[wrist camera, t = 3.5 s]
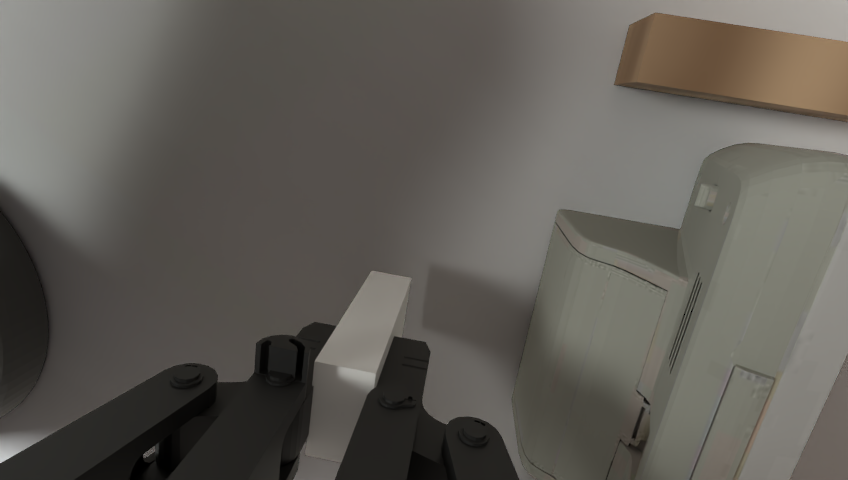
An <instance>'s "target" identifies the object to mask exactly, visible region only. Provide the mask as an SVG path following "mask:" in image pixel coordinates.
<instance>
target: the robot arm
mask: <svg viewBox="0 0 848 480" xmlns="http://www.w3.org/2000/svg"><path fill="white" fill-rule="evenodd" d="M411 279H412V278H409V277H404V276H398V275H393V274H388V273H382V272H377V271H371V273H370V274H369V276H368V277H367V279H366V280H365V282H364V284H363V285H362V287H361V288H360V290H359V292H358V293H357V295H356V296H355V298H354V300H353V301H352V303H351V304H350V306H349V307H348V309H347V311H346V312H345V314H344V315H343V317H342V319H341V320H340V322H339V323H338V325H337V326H333V325H327V324H322V323H317V322H314V323H312V324H310V325H308V326H306V327H304V328H303V329H302V330H301V331H300V333H299V334H298V335H297V336H296V337H295V336H289V335H275V336H270V337H267V338H263V339H262V340H260V341H259V342H257V343H256V355H255V370H254V374H253V375H252V376H251V377H250V379H249V380H248V381H246V382H217V380H218V375H217V373H216V371H215V370H214V369H212V368H211V367H209V366H206V365H202V364H195V363H193V364H192V363H189V364H182V365H177V366H174V367H171V368H169V369H167V370H164V371H163V372H161V373H159V374H157V375H156V376H154V377H152V378H150V379H148V380H147V381H145V382H143V383H141V384H140V385H138V386H136V387H134V388H133V389H131V390H129V391H127V392H126V393H124V394H122V395H120V396H118V397H117V398H115V399H113V400H111V401H110V402H108V403H106V404H104V405H103V406H101V407H99V408H97V409H96V410H94V411H92V412H90V413H88V414H87V415H85V416H83V417H81V418H80V419H78V420H76V421H74V422H73V423H71V424H69V425H67V426H66V427H64V428H62V429H60V430H58V431H57V432H55V433H53V434H51V435H50V436H48V437H46V438H44V439H43V440H41V441H39V442H37V443H36V444H34V445H32V446H30V447H28V448H27V449H25V450H23V451H21V452H20V453H18V454H16V455H14V456H13V457H11V458H9V459H7V460H6V461H4V462H2V463H0V480H293V478H294V476H295V474H296V472H297V470H298V465H299V457H300V451H301V449H302V447H303V445H304V443H305V441H306V448H305V456H310V457H315V458H320V459H324V460H329V461H334V462H339V463H341V465H340V468H339V470H338V473H337V476H336V478H335V480H519V478H518V475H517V473H516V471H515V468H514V466H513V463H512V461H511V458H510V456H509V454H508V451H507V449H506V446H505V444H504V441H503V439H502V436H501V435H500V434H499V432H498V431H497V429H496V428H494V427H493V426H492V425H491V424H489V423H488V422H485V421H483V420H481V419H478V418H473V417H458V418H455V419H453V420H451V421H450V422H449V423H448V424H447V425H446V424H443V423H441V422H439V421H437V420H436V419H434V418H433V417H431V416H430V415H429V414H428V413H427V412H426V411H425V409H424V407H423V405H422V396H423V391H424V385H425V380H426V374H427V369H428V363H429V358H430V350H429V348H428V346H427V344H426V342H422V341H417V340H411V339H406V338H402V335H403V329H404V323H405V316H406V310H407V304H408V298H409V291H410V285H411ZM47 344H48V318H47V310H46V304H45V299H44V295H43V291H42V288H41V284H40V281H39V278H38V276H37V273H36V271H35V268H34V266H33V263H32V261H31V259H30V257H29V255H28V253H27V251H26V249H25V247H24V246H23V244H22V242H21V240H20V239H19V237H18V236H17V234H16V232H15V231H14V229H13V228H12V226H11V225H10V224H9V222H8V221H7V220H6V218H5V217H4V216H3V214H2V213H1V212H0V418H1V417H2V416H4V415H5V414H7V413H8V412H10V411H11V410H12V409H14V408H15V407H16V406H17V405H19V404H20V403H21V402H22V401H23V400H24V398H25V397H26V396H27V395H28V394H29V392H30V391H31V389H32V388H33V387H34V385H35V383H36V381H37V379H38V377H39V375H40V373H41V370H42V367H43V364H44V361H45V356H46V351H47ZM153 446H155V452H154V453H153V454H151V455H150V456H148V457H146V458H143V454H144V453H145V452H146V451H148V450H149V449H151V448H152V447H153Z"/></svg>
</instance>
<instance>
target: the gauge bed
mask: <svg viewBox="0 0 848 480" xmlns="http://www.w3.org/2000/svg"><path fill="white" fill-rule="evenodd" d="M614 85H620V86H627V87H633V88H639V89H645V90H652V91H658V92H664V93H671V94H677V95H683V96H689V97H696V98H702V99H708V100H714V101H721V102H727V103H733V104H739V105H746V106H752V107H758V108H764V109H771V110H777V111H783V112H789V113H796V114H802V115H808V116H814V117H821V118H827V119H833V120H839V121H846V122H848V42H844V41H838V40H831V39H825V38H818V37H812V36H805V35H798V34H792V33H785V32H779V31H772V30H766V29H759V28H753V27H746V26H739V25H733V24H726V23H720V22H713V21H707V20H700V19H694V18H687V17H680V16H674V15H667V14H661V13H654V14H652V15H650V16H648V17H646V18H643V19H641V20H639V21H637V22H635V23H633V24H631V25H629V29H628V33H627V37H626V41H625V45H624V49H623V52H622V56H621V60H620V64H619V68H618V72H617V76H616V80H615V83H614Z"/></svg>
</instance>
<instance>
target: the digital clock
mask: <svg viewBox="0 0 848 480" xmlns="http://www.w3.org/2000/svg"><path fill="white" fill-rule="evenodd" d="M698 273H699V275H698ZM697 275H698V278H697ZM696 278H697V281H696ZM699 278H700V281H699ZM695 281H696V284H695ZM698 281H699V284H698ZM701 282H702V285H701V288H700V291H699V294H698V296H697V293H698V290H699V287H700V284H701ZM694 284H695V287H694ZM697 284H698V287H697ZM693 287H694V290H693ZM696 287H697V290H696ZM692 290H693V293H692ZM695 290H696V293H695ZM691 293H692V296H691ZM694 293H695V296H694ZM690 296H691V299H690ZM693 296H694V299H693V302H692V304H691V301H692V298H693ZM696 296H697V299H696ZM689 299H690V302H689ZM695 299H696V302H695ZM688 302H689V305H688ZM694 302H695V305H694ZM690 304H691V307H690ZM687 305H688V307H687ZM693 305H694V308H693V311H692V314H691V317H690V319H689V316H690V313H691V310H692V307H693ZM686 307H687V310H686ZM689 307H690V310H689ZM685 310H686V313H685ZM688 310H689V313H688ZM684 313H685V316H684ZM687 313H688V316H687ZM683 316H684V319H683ZM686 316H687V319H686ZM682 319H683V322H682ZM685 319H686V322H685ZM688 319H689V322H688ZM681 322H682V325H681ZM684 322H685V325H684V328H683V330H682V327H683V324H684ZM687 322H688V325H687ZM680 325H681V328H680ZM686 325H687V328H686ZM679 328H680V331H679ZM685 328H686V331H685V334H684V337H683V339H682V336H683V333H684V330H685ZM681 330H682V333H681ZM678 331H679V334H678ZM680 333H681V336H680ZM677 334H678V336H677ZM676 336H677V339H676ZM679 336H680V339H679ZM675 339H676V342H675ZM678 339H679V342H678ZM681 339H682V342H681ZM674 342H675V345H674ZM677 342H678V345H677ZM680 342H681V345H680ZM673 345H674V348H673ZM676 345H677V348H676ZM679 345H680V348H679ZM672 348H673V351H672ZM675 348H676V351H675V354H674V356H673V353H674V350H675ZM678 348H679V351H678ZM671 351H672V354H671ZM677 351H678V354H677V357H676V360H675V362H674V359H675V356H676V353H677ZM670 354H671V357H670ZM847 355H848V156H847V155H843V154H839V153H835V152H826V151H818V150H809V149H800V148H792V147H783V146H775V145H766V144H758V143H745V144H736V145H732V146H729V147H726V148H723V149H721V150H719V151H717V152H714V153H712V154H710V155H709V156H708V157H706V158H705V160H704V161H703V163H702V166H701V168H700V171H699V174H698V177H697V180H696V183H695V186H694V189H693V192H692V195H691V198H690V202H689V205H688V208H687V211H686V214H685V217H684V220H683V223H682V226H681V228H680V229H675V228H669V227H663V226H658V225H652V224H646V223H640V222H635V221H629V220H623V219H617V218H612V217H606V216H600V215H594V214H588V213H583V212H577V211H571V210H559V211H558V212H557V216H556V220H555V224H554V228H553V232H552V236H551V240H550V244H549V248H548V252H547V256H546V261H545V265H544V269H543V273H542V277H541V281H540V285H539V289H538V293H537V297H536V302H535V306H534V310H533V314H532V318H531V322H530V326H529V330H528V334H527V338H526V343H525V347H524V351H523V355H522V359H521V363H520V367H519V371H518V375H517V379H516V383H515V388H514V392H513V396H512V406H513V414H514V421H515V429H516V436H517V444H518V450H519V455H520V458H521V462H522V465H523V467H524V468H525V470H526V471H527V473H528V474H529V475H531V476H532V477H534V478H535V479H537V480H790V478H791V476H792V474H793V471H794V469H795V467H796V465H797V463H798V461H799V458H800V456H801V454H802V452H803V450H804V448H805V445H806V443H807V441H808V439H809V437H810V435H811V433H812V430H813V428H814V426H815V424H816V422H817V420H818V417H819V415H820V413H821V411H822V409H823V407H824V405H825V402H826V400H827V398H828V396H829V394H830V392H831V389H832V387H833V385H834V383H835V381H836V379H837V376H838V374H839V372H840V370H841V368H842V366H843V364H844V361H845V359H846V357H847ZM672 356H673V359H672ZM669 357H670V360H669ZM671 359H672V362H671ZM670 362H671V365H670ZM673 362H674V365H673ZM672 365H673V368H672ZM671 368H672V371H671ZM670 371H671V374H670Z"/></svg>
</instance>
